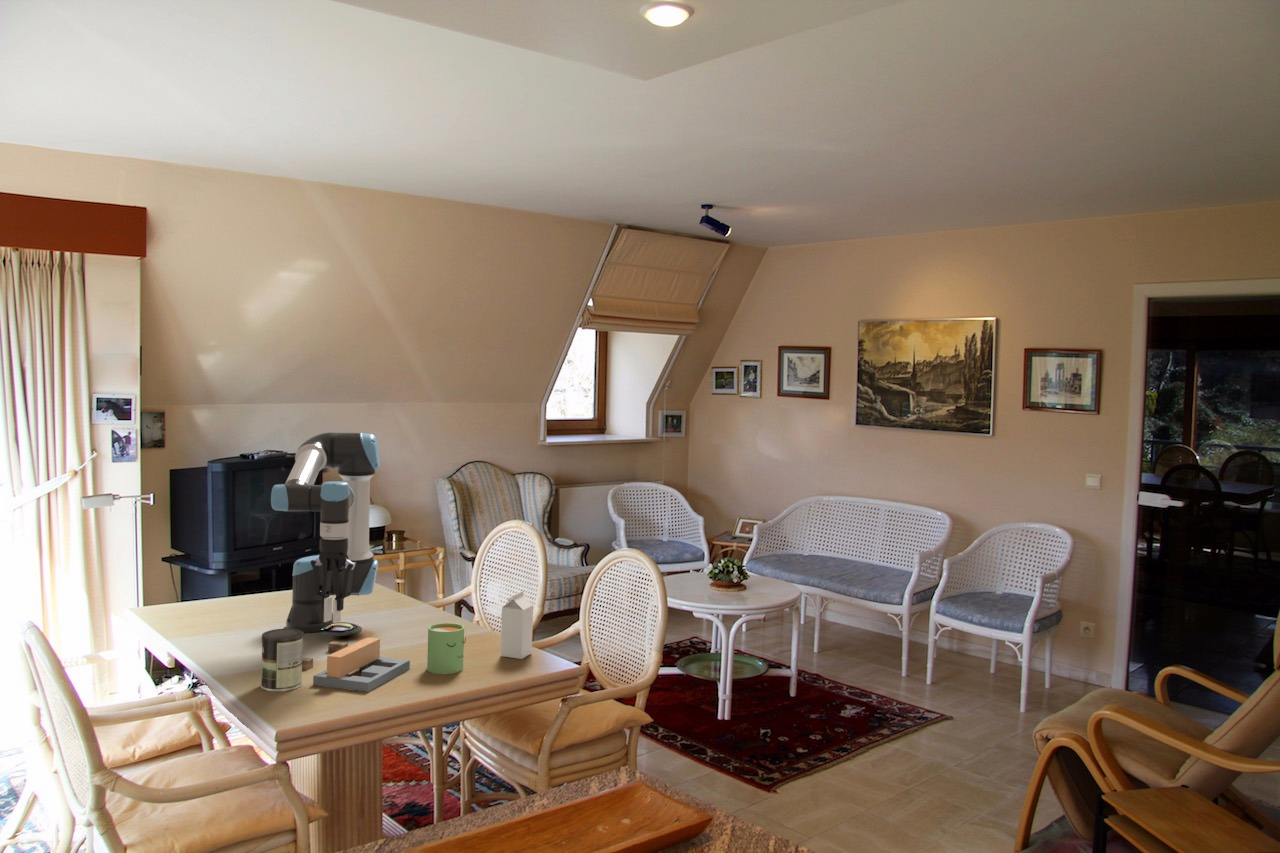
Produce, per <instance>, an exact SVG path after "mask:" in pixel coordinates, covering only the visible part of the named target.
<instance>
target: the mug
mask: <svg viewBox="0 0 1280 853" xmlns="http://www.w3.org/2000/svg"><path fill="white" fill-rule="evenodd" d="M466 640H467V638H466V637H465V625H464V624H462V623H461V624H460V623H456V622H453V623H452V622H441V623H440V622H438V623H435V624H431V625H429V626H428V628H427V658H426V659H427V665H426V666H427V667H426V670H427V671H428V672H430V674H431V673H432V674H435V675H436V674H437V675H452V674H457V673H460V672H462V671H463V670H464V650H465V649H464V647H465V643H466V642H467V641H466Z"/></svg>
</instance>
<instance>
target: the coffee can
mask: <svg viewBox="0 0 1280 853" xmlns="http://www.w3.org/2000/svg"><path fill="white" fill-rule="evenodd" d="M303 636H304V632H303V631H301V630H298V629H286V628H276V629H270V630H267V631H264V632H263V633H261V680H260V681H261V683H260V684H261V685H260V688H261V689H262V690H263V691H266V692H275V693H281V692H287V691H294V690H296V689H299V688H301V686H302V685H303V682H302V681H303V680H302V678H303V677H302V676H303V669H302V657H303V644H304V643H303V640H304V639H303Z"/></svg>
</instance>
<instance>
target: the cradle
mask: <svg viewBox="0 0 1280 853" xmlns="http://www.w3.org/2000/svg"><path fill="white" fill-rule="evenodd" d="M348 646H349V643H348V642H341V641H330V642H329V643H328V645H327V652H329V653H335V652H337V651H339V650H341V649H343V648H346V647H348ZM313 667H314V658H313V657H303V656H302V670H306V671H309V670H310V669H313Z"/></svg>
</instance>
